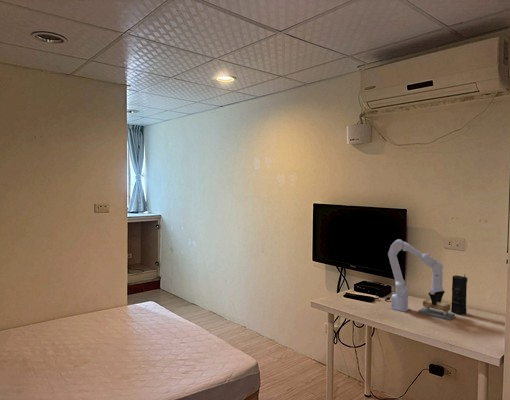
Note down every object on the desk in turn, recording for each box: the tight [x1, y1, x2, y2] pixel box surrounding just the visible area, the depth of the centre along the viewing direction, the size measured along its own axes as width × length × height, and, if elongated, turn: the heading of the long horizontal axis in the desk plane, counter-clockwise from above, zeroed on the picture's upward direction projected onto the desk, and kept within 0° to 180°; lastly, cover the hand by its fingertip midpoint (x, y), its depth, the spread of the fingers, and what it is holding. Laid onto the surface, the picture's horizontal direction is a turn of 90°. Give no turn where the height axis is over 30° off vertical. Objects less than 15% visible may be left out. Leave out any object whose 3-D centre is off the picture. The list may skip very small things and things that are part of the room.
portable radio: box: [450, 274, 468, 316], centre depth 229 cm, size 8×6×25 cm
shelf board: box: [422, 299, 451, 312], centre depth 226 cm, size 14×6×3 cm, turn 43°
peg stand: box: [417, 306, 456, 321], centre depth 226 cm, size 18×10×4 cm, turn 44°
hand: (436, 303), depth 226 cm, fingers open, 7 cm apart
